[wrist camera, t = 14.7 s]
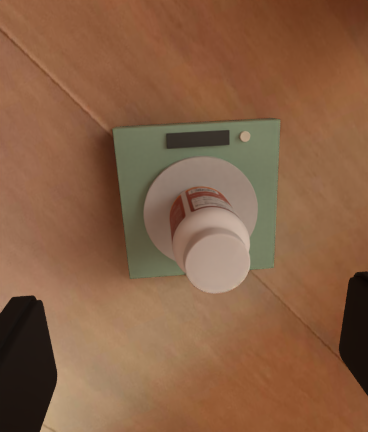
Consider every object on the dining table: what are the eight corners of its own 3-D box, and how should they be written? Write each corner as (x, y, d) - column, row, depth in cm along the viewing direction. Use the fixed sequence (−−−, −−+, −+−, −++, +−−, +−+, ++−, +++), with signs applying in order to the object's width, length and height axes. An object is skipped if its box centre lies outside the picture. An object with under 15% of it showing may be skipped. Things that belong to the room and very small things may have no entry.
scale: (131, 268, 39) (129, 283, 36) (115, 126, 34) (110, 129, 31) (267, 258, 40) (276, 271, 37) (272, 117, 34) (283, 119, 31)
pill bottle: (193, 253, 35) (207, 318, 25) (156, 209, 33) (154, 260, 23) (242, 218, 34) (277, 271, 24) (207, 171, 32) (229, 206, 22)
